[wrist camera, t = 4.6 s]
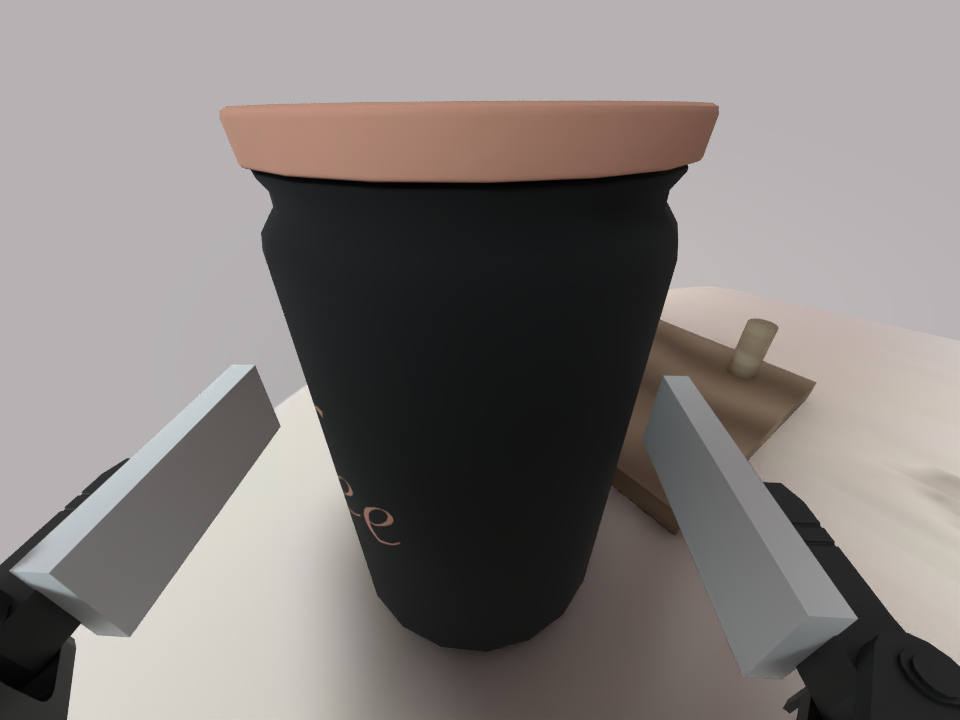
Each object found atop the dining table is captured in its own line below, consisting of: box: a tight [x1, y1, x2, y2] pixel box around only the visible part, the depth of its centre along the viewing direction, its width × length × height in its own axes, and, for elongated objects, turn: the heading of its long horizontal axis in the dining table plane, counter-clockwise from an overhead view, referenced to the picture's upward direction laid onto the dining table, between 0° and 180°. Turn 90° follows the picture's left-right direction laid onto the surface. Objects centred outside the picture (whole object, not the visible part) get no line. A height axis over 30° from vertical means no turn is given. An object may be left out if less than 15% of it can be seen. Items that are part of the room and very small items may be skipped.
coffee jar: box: [220, 101, 719, 652], centre depth 14 cm, size 11×11×18 cm
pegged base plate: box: [612, 319, 816, 535], centre depth 28 cm, size 18×18×6 cm
